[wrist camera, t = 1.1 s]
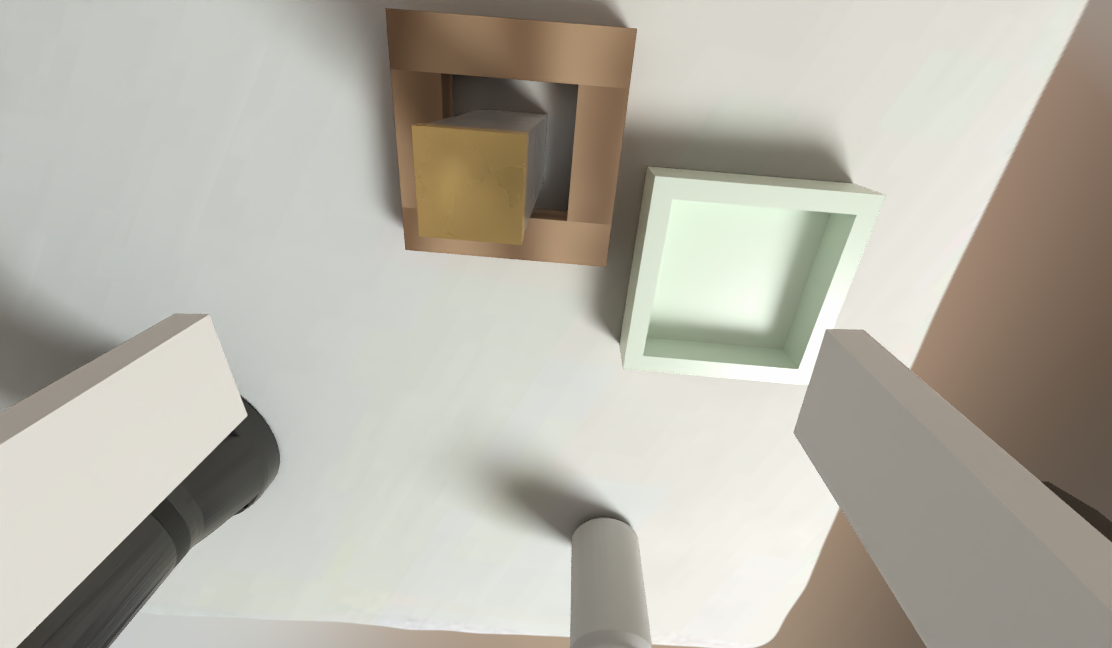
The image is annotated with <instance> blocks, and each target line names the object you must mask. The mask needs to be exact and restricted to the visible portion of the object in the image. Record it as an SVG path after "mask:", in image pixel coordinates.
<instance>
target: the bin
mask: <svg viewBox="0 0 1112 648" xmlns="http://www.w3.org/2000/svg"><path fill="white" fill-rule="evenodd" d="M885 197H886V195H884V194H881V193H878V192H876V191H873V190H870V189H867V188H865V187H862V186H859V185H856V184H854V183H842V182H830V181H818V180H806V179H794V178H782V177H770V176H758V175H746V174H734V173H722V172H710V171H698V170H686V169H674V168H662V167H650V166H647V171H646V178H645V184H644V190H643V197H642V203H641V209H640V216H639V222H638V228H637V235H636V241H635V247H634V254H633V260H632V266H631V273H630V279H629V286H628V292H627V298H626V305H625V311H624V317H623V324H622V330H621V336H620V343H619V345H620V352H621V359H622V366H623V369H628V370H639V371H650V372H662V373H673V374H685V375H696V376H708V377H719V378H731V379H742V380H754V381H765V382H777V383H788V384H800V385H809V381H810V378H811V375H812V372H813V369H814V365H815V362H816V359H817V356H818V353H819V349H820V346H821V343H822V340H823V337H824V333H825V330H826V329H833V327H834V325H835V322H836V320H837V317H838V315H839V312H840V310H841V307H842V305H843V302H844V300H845V297H846V295H847V292H848V290H849V287H850V285H851V282H852V280H853V277H854V275H855V272H856V270H857V267H858V265H859V262H860V260H861V257H862V255H863V252H864V250H865V247H866V245H867V242H868V240H869V237H870V235H871V232H872V230H873V227H874V225H875V222H876V220H877V217H878V215H879V212H880V210H881V207H882V205H883V202H884V200H885Z"/></svg>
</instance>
